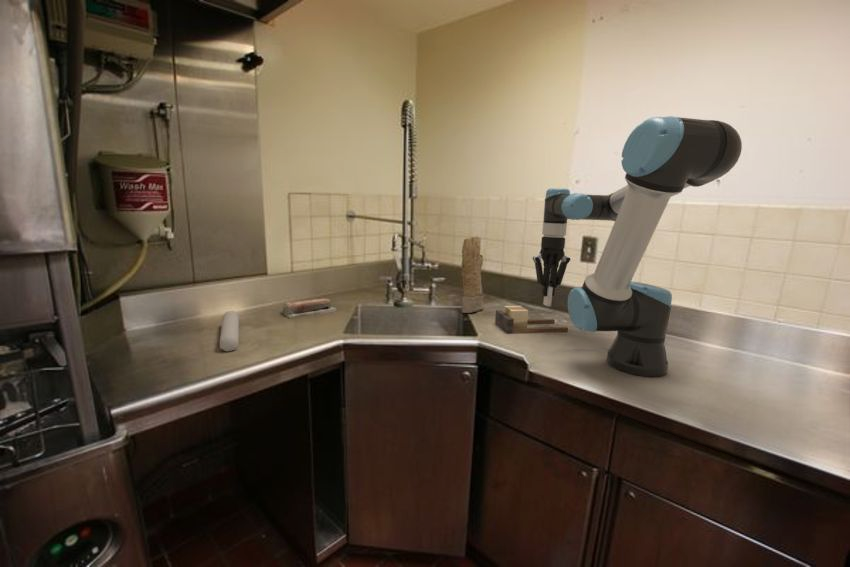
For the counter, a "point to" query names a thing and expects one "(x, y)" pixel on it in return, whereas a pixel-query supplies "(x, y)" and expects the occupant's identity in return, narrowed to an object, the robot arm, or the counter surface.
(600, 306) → the robot arm
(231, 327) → the tube
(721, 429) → the counter surface
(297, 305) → the packaged product
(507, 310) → the block
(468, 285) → the glove
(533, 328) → the guide channel
